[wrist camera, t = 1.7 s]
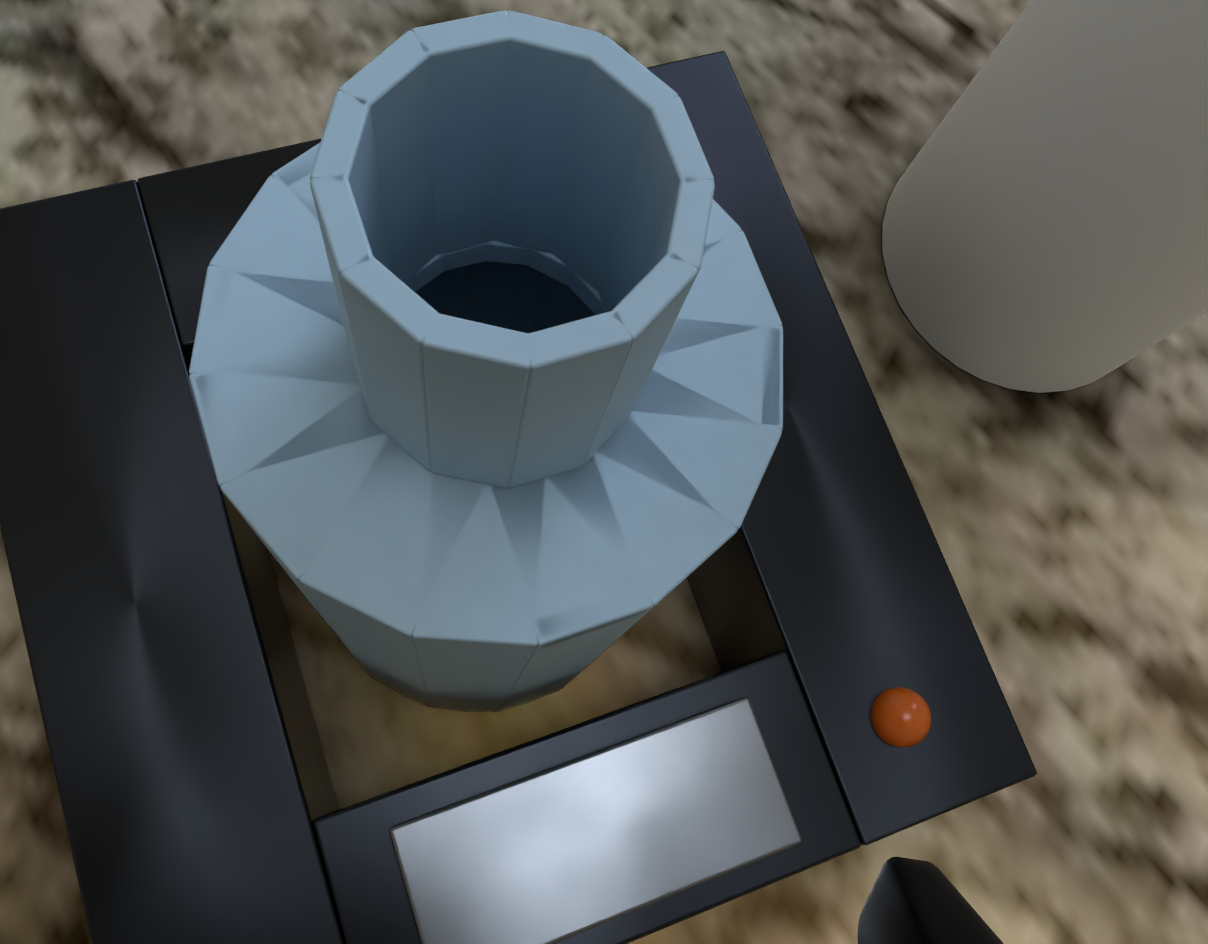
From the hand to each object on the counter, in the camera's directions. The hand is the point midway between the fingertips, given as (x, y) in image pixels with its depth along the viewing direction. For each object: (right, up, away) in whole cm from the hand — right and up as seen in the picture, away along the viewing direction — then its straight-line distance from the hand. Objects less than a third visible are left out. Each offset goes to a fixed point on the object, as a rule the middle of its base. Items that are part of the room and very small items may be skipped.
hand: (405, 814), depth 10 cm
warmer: (-1, +1, +13) cm, 13 cm away
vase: (-1, +1, +13) cm, 13 cm away
